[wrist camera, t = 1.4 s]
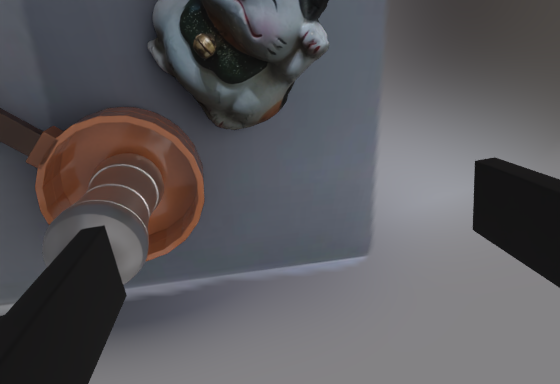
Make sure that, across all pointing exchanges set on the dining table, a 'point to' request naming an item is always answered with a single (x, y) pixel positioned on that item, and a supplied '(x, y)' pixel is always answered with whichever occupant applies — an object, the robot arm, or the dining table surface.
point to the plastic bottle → (113, 211)
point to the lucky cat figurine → (238, 52)
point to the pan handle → (27, 138)
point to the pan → (117, 140)
